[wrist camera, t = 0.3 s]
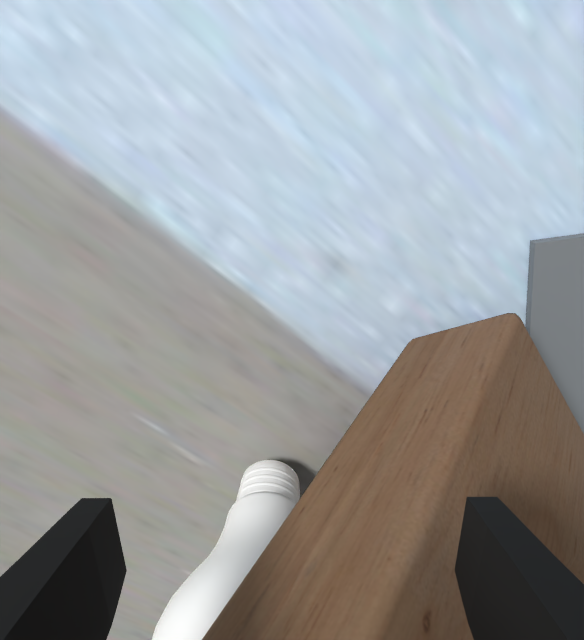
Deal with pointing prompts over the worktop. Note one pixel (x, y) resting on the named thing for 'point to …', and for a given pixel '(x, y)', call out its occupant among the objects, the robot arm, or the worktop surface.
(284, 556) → the wooden block
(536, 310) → the mat
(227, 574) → the lightbulb
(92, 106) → the worktop surface
